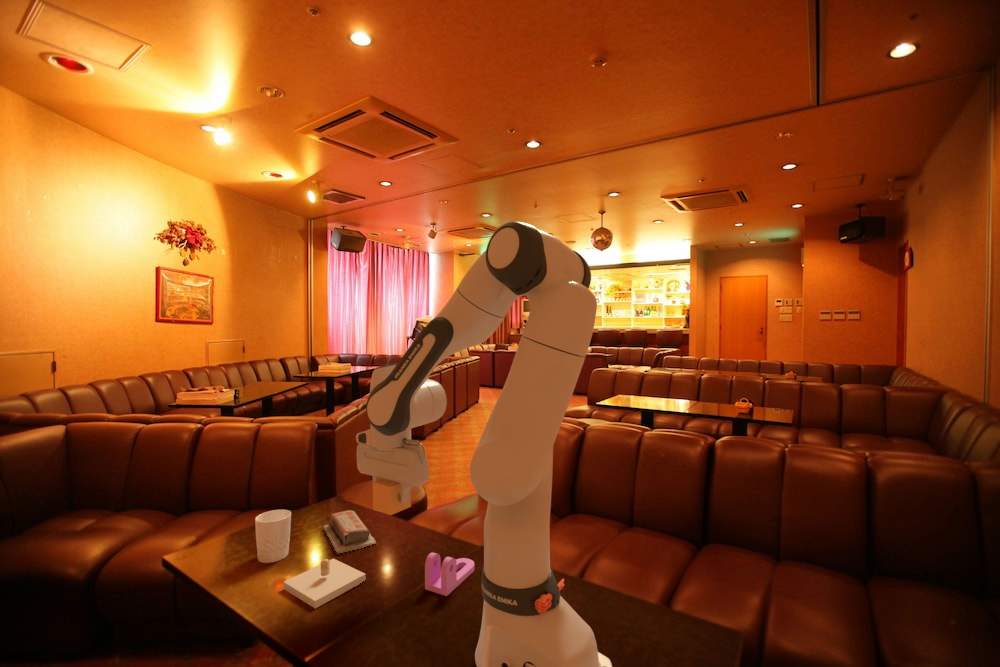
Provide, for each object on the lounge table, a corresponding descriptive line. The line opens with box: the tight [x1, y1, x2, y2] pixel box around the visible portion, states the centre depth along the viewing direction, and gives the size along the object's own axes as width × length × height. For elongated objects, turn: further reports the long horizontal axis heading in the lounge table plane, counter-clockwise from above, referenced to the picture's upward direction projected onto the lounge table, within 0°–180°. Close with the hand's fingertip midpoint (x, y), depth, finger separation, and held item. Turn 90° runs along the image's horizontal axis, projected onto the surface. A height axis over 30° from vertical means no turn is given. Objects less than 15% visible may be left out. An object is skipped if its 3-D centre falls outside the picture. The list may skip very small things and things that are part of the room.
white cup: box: [254, 509, 292, 564], centre depth 106 cm, size 8×8×10 cm
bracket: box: [424, 552, 475, 597], centre depth 96 cm, size 13×6×7 cm, turn 152°
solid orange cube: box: [372, 479, 412, 516], centre depth 96 cm, size 6×6×6 cm
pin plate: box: [282, 558, 367, 610], centre depth 94 cm, size 12×12×6 cm
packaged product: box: [323, 509, 377, 555], centre depth 117 cm, size 18×5×10 cm
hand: (392, 498), depth 96 cm, fingers closed on solid orange cube, 6 cm apart
